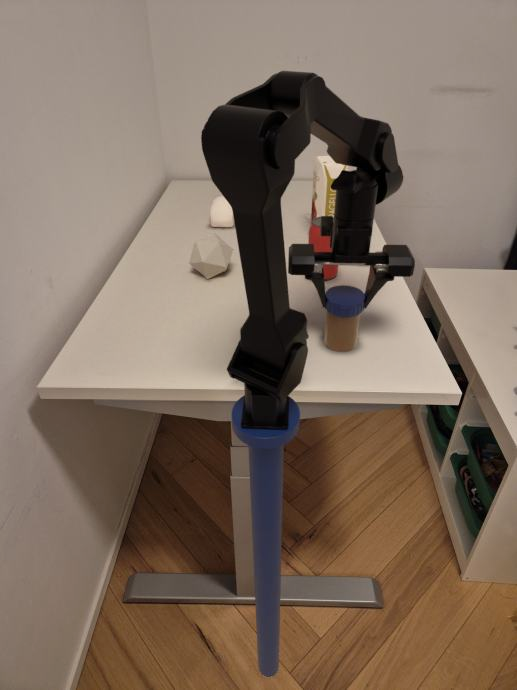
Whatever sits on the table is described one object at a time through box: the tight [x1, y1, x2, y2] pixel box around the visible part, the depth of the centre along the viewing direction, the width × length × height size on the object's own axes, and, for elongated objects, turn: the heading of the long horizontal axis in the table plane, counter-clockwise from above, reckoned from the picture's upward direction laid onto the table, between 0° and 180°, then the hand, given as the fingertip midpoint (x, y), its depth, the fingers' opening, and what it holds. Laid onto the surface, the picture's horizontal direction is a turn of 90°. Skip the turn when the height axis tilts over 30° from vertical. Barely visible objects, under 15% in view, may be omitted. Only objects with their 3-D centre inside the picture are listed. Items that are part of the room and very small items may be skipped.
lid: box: [324, 284, 365, 317], centre depth 76 cm, size 6×6×2 cm
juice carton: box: [310, 155, 351, 226], centre depth 111 cm, size 8×9×19 cm
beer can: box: [307, 217, 339, 281], centre depth 98 cm, size 7×7×12 cm
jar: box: [323, 310, 361, 353], centre depth 78 cm, size 6×6×9 cm
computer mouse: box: [209, 195, 235, 228], centre depth 126 cm, size 6×13×6 cm, turn 174°
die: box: [188, 232, 234, 280], centre depth 100 cm, size 8×9×10 cm
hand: (344, 306), depth 77 cm, fingers closed on lid, 6 cm apart
